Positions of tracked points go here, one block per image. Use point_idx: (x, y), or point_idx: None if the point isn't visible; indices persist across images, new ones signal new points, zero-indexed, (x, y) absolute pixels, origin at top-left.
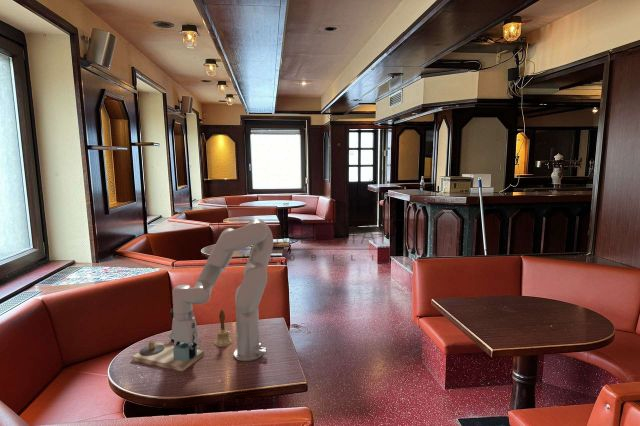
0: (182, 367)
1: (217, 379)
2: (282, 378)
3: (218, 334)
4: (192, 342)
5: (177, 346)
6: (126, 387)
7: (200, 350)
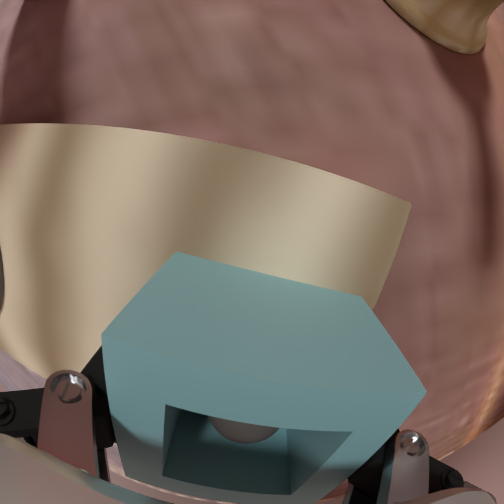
0: None
1: (458, 420)
2: None
3: None
4: (385, 497)
5: (149, 469)
6: (119, 472)
7: (373, 197)
